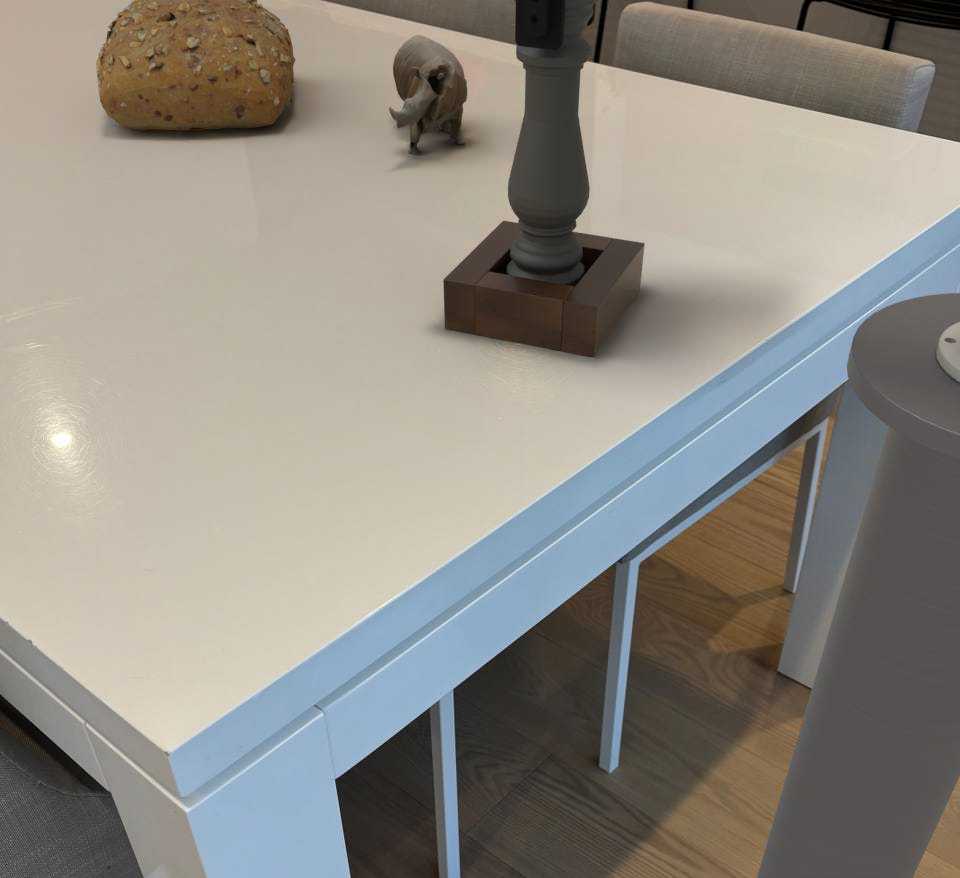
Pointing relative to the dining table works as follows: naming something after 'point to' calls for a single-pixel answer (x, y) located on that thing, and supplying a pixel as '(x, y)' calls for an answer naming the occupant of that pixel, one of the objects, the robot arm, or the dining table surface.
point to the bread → (195, 65)
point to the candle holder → (551, 158)
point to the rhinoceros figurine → (429, 89)
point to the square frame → (543, 294)
